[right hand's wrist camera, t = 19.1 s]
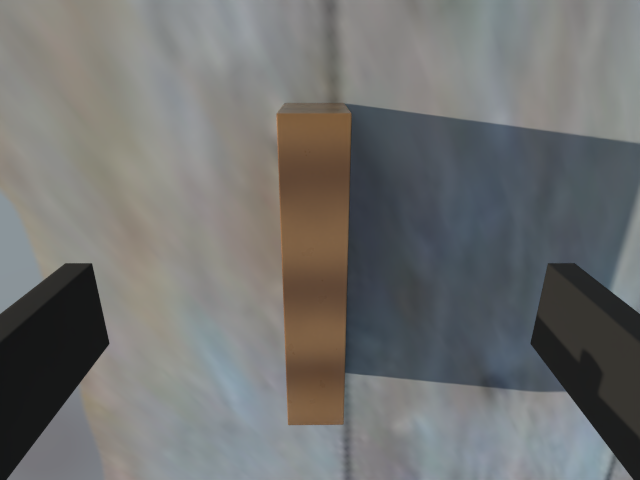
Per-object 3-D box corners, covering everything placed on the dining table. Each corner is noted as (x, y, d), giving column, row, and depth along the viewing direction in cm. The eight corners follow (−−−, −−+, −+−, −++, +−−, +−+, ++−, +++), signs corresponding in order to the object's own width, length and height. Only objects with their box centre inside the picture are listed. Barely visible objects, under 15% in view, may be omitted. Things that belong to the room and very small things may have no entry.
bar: (284, 103, 37) (276, 113, 29) (344, 103, 37) (351, 113, 30) (292, 368, 48) (288, 425, 40) (339, 367, 48) (343, 424, 40)
